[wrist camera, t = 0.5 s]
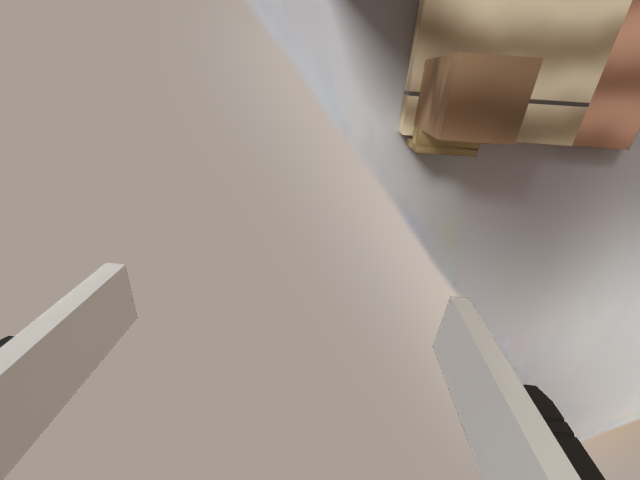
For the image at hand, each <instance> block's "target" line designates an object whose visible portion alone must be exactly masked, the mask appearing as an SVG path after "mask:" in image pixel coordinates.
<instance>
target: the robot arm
mask: <svg viewBox="0 0 640 480" xmlns="http://www.w3.org/2000/svg"><path fill="white" fill-rule="evenodd" d="M137 318H138V317H137V313H136V308H135V304H134V300H133V295H132V291H131V287H130V283H129V278H128V274H127V270H126V266H125V265H124V264H114V263H105V264H104V265H103V266H102V267H100V268H99V269H98V270H97V271H95V272H94V273H93V274H92V275H90V276H89V277H88V278H87V279H85V280H84V281H83V282H82V283H80V284H79V285H78V286H77V287H75V288H74V289H73V290H72V291H70V293H68V294H67V295H65V296H64V297H63V298H62V299H60V300H59V301H58V302H57V303H55V304H54V305H53V306H52V307H50V308H49V309H48V310H47V311H46V312H44V313H43V314H42V315H41V316H39V317H38V318H37V319H36V320H34V321H33V322H32V323H31V324H29V325H28V326H27V327H26V328H24V329H23V330H22V331H21V332H19V333H18V334H17V335H16V336H7V337H5V338H3V339H1V340H0V480H4V478H5V477H6V476H7V475H8V474H9V472H10V471H11V470H12V469H13V468H14V466H15V465H16V464H17V463H18V461H19V460H20V459H21V458H22V457H23V455H24V454H25V453H26V452H27V451H28V449H29V448H30V447H31V446H32V445H33V443H34V442H35V441H36V440H37V439H38V437H39V436H40V435H41V434H42V433H43V431H44V430H45V429H46V428H47V427H48V425H49V424H50V423H51V422H52V420H53V419H54V418H55V417H56V415H57V414H58V413H59V412H60V411H61V410H62V408H63V407H64V406H65V405H66V404H67V402H68V401H69V400H70V398H72V396H73V395H74V394H75V393H76V391H77V390H78V389H79V388H80V387H81V385H82V384H83V383H84V382H85V381H86V379H87V378H88V377H89V376H90V375H91V373H92V372H93V371H94V370H95V369H96V367H97V366H98V365H99V364H100V362H101V361H102V360H103V359H104V358H105V356H106V355H107V354H108V353H109V351H110V350H111V349H112V348H113V347H114V345H115V344H116V343H117V342H118V341H119V339H120V338H121V337H122V336H123V335H124V333H125V332H126V331H127V330H128V329H129V327H130V326H131V325H132V324H133V323H134V321H135V320H136V319H137ZM433 348H434V351H435V354H436V356H437V359H438V361H439V364H440V367H441V370H442V372H443V375H444V378H445V381H446V383H447V386H448V389H449V391H450V394H451V397H452V399H453V402H454V405H455V408H456V410H457V413H458V416H459V418H460V421H461V424H462V426H463V429H464V432H465V435H466V437H467V440H468V443H469V445H470V448H471V451H472V453H473V456H474V459H475V461H476V464H477V467H478V470H479V472H480V475H481V478H482V480H605V479H604V477H603V475H602V474H601V473H600V471H599V469H598V468H597V467H596V465H595V464H594V462H593V461H592V459H591V458H590V456H589V455H588V453H587V452H586V450H585V449H584V447H583V446H582V444H581V443H580V441H579V440H578V439H577V437H575V436H574V433H573V431H572V430H571V428H570V427H569V425H568V424H567V422H564V418H563V416H562V415H561V413H560V412H559V410H558V409H557V408H556V406H555V405H554V403H553V402H552V401H551V400H550V399H549V398H548V397H547V396H546V395H545V394H544V393H543V392H542V391H541V390H540V389H539V388H538V387H536V386H532V385H522V383H521V381H520V380H519V378H518V377H517V375H516V373H515V372H514V370H513V369H512V367H511V365H510V364H509V362H508V360H507V359H506V357H505V356H504V354H503V352H502V351H501V349H500V347H499V346H498V344H497V343H496V341H495V339H494V338H493V336H492V335H491V333H490V331H489V330H488V328H487V326H486V325H485V323H484V322H483V320H482V318H481V317H480V315H479V313H478V312H477V310H476V309H475V307H474V305H473V304H472V302H471V300H470V299H469V298H461V297H451V296H450V299H449V301H448V304H447V307H446V310H445V313H444V316H443V319H442V321H441V324H440V327H439V330H438V333H437V336H436V338H435V341H434V344H433Z"/></svg>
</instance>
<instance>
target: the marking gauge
mask: <svg viewBox="0 0 640 480" xmlns="http://www.w3.org/2000/svg"><path fill="white" fill-rule="evenodd" d="M543 59H544V58H542V57H526V56H510V55H494V54H478V53H462V52H458V53H454V54H449V55H445V56H441V57H436V58H432V59H428V60H426V61H425V66H424V72H423V77H422V82H421V88H420V93H419V99H418V104H417V110H416V115H415V120H414V126H415V127H414V132H413V137H407V142H406V144H407V145H408V146H409V147H410V148H411V149H413V150H414V151H415V152H416V153H429V154H444V155H459V156H474V157H476V156H477V152H478V149H479V145H480V143H493V144H508V145H515V143H516V140H517V137H518V134H519V131H520V128H521V125H522V122H523V119H524V116H525V113H526V110H527V107H528V104H529V101H530V98H531V95H532V92H533V89H534V86H535V83H536V80H537V77H538V74H539V71H540V68H541V65H542V62H543Z"/></svg>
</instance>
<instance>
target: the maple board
mask: <svg viewBox="0 0 640 480" xmlns="http://www.w3.org/2000/svg"><path fill="white" fill-rule="evenodd" d="M458 52H462V53H478V54H494V55H510V56H526V57H542V58H544V59H543V62H542V65H541V68H540V71H539V74H538V77H537V80H536V83H535V86H534V89H533V92H532V95H531V98H530V101H529V104H528V107H527V110H526V113H525V116H524V119H523V122H522V125H521V128H520V131H519V134H518V137H517V140H516V142H519V143H534V144H549V145H565V146H580V147H595V148H610V149H626V150H629V148H630V146H631V144H632V142H633V140H634V138H635V136H636V134H637V132H638V130H639V128H640V0H420V1H419V7H418V13H417V19H416V25H415V31H414V37H413V44H412V50H411V56H410V62H409V68H408V74H407V80H406V86H405V92H404V99H403V105H402V111H401V117H400V123H399V129H398V132H399V133H401V134H402V135H412V136H413V132H414V127H415V126H414V120H415V115H416V110H417V104H418V99H419V93H420V88H421V82H422V77H423V72H424V66H425V61H426V60H428V59H432V58H436V57H441V56H445V55H449V54H454V53H458Z"/></svg>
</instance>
